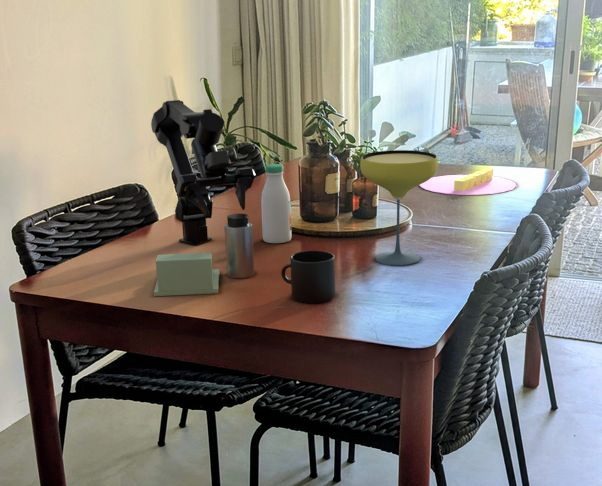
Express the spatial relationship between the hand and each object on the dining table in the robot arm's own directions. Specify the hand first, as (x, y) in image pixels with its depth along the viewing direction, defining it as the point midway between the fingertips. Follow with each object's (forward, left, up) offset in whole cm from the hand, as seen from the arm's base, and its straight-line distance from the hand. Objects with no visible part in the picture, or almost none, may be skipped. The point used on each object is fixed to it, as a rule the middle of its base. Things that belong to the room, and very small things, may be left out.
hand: (225, 211), depth 205 cm
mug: (+30, -5, -14) cm, 34 cm away
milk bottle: (-7, +24, -14) cm, 28 cm away
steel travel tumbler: (+7, -3, -13) cm, 16 cm away
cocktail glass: (+29, +29, -14) cm, 43 cm away
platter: (-4, +113, -14) cm, 114 cm away
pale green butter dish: (+3, -16, -13) cm, 21 cm away
